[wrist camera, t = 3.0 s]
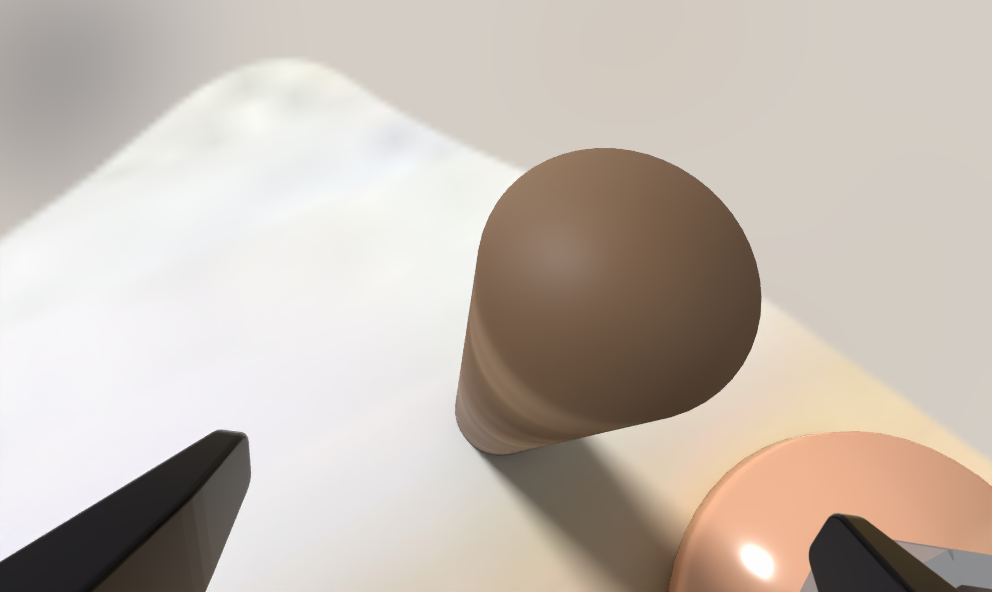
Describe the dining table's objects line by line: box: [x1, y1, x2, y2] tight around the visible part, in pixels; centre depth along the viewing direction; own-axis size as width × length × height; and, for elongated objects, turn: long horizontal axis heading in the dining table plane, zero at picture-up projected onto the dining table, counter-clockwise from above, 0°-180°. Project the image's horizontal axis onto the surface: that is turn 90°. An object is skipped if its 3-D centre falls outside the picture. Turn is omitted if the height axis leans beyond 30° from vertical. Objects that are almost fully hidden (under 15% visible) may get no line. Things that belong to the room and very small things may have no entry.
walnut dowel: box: [455, 148, 761, 455], centre depth 12 cm, size 3×3×13 cm
